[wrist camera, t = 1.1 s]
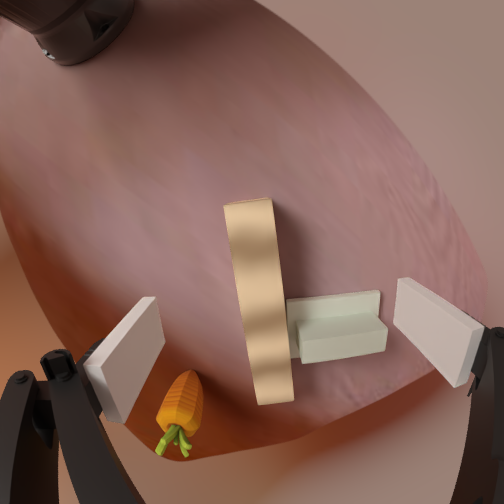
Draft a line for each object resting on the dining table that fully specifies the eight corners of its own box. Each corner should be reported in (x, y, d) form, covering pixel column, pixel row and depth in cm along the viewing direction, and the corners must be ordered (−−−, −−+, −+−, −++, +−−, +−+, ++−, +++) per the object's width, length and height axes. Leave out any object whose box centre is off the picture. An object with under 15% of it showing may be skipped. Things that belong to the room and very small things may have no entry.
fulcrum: (286, 299, 34) (292, 321, 28) (377, 289, 34) (398, 307, 28) (287, 354, 36) (293, 381, 30) (371, 343, 36) (388, 366, 30)
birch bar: (228, 203, 32) (223, 205, 26) (267, 197, 32) (271, 199, 26) (257, 379, 37) (257, 405, 31) (289, 375, 37) (294, 400, 31)
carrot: (211, 359, 36) (193, 443, 21) (209, 386, 37) (194, 469, 22) (174, 353, 36) (142, 433, 21) (175, 381, 37) (148, 460, 22)
